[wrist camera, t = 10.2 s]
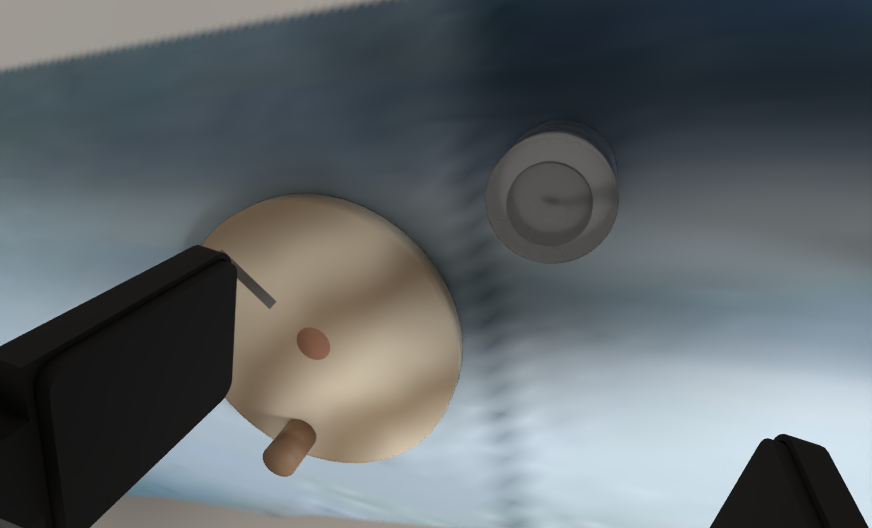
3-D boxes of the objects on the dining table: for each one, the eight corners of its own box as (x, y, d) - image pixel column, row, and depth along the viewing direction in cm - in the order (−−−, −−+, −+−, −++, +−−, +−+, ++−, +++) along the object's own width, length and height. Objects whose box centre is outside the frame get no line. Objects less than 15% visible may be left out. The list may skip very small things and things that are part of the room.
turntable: (525, 352, 28) (513, 397, 25) (346, 486, 36) (317, 535, 32) (299, 127, 27) (252, 141, 24) (161, 313, 35) (110, 344, 31)
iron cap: (597, 101, 24) (593, 117, 19) (631, 209, 25) (636, 247, 20) (489, 143, 26) (463, 166, 21) (526, 241, 27) (509, 282, 22)
